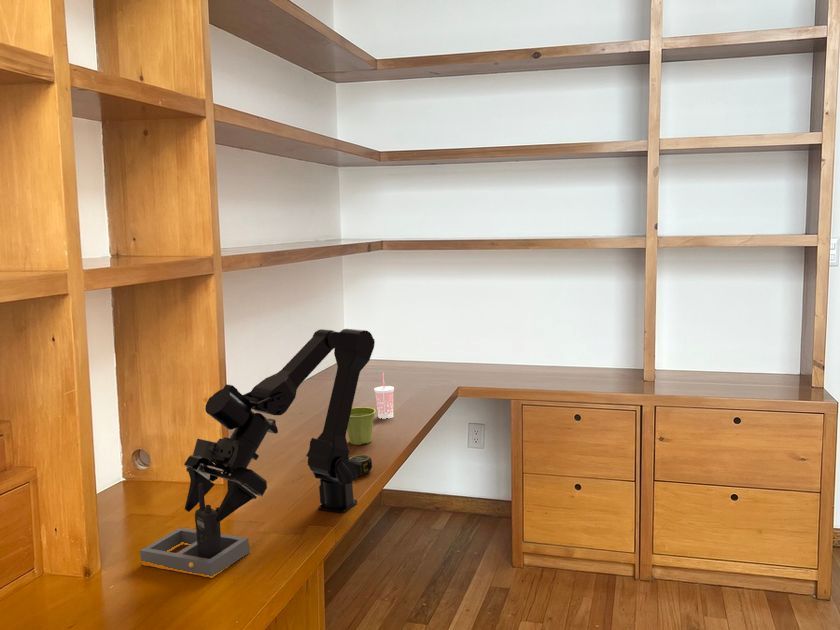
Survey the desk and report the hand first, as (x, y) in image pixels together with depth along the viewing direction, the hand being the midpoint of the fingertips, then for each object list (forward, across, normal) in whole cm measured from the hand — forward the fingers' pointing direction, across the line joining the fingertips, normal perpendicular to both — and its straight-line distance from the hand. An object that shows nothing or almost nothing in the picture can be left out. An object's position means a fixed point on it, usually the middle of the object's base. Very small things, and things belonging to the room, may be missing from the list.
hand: (201, 515), depth 144 cm
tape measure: (-29, -11, +43) cm, 53 cm away
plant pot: (-43, -28, +57) cm, 77 cm away
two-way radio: (+6, 0, +8) cm, 10 cm away
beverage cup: (-59, -39, +73) cm, 102 cm away
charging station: (+6, -4, +7) cm, 10 cm away
